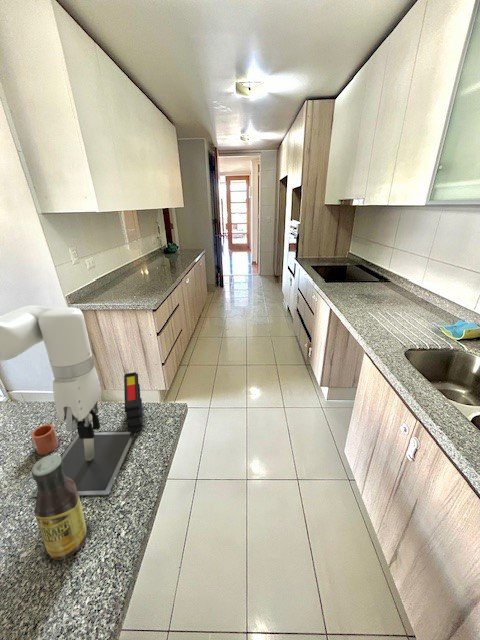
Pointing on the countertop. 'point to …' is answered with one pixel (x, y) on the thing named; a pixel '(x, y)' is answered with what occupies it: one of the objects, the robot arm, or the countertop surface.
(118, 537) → the countertop surface
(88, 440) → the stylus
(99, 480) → the tablet
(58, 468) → the sauce bottle
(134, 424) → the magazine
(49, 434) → the holder
